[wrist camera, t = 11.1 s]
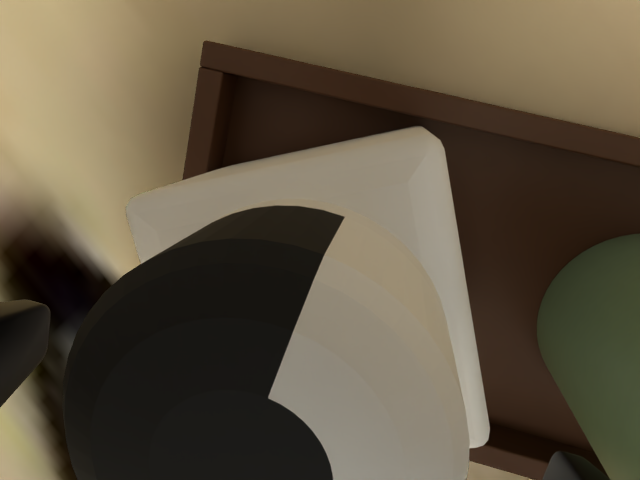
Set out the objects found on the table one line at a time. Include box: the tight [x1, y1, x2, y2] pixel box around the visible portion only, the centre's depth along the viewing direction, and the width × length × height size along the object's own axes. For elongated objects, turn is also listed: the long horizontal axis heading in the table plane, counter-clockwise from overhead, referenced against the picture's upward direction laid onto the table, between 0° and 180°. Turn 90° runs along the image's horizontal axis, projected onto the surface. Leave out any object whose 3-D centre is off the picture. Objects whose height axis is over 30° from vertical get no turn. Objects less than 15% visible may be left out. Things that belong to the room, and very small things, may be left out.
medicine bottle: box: [63, 126, 490, 480], centre depth 13 cm, size 7×7×12 cm
